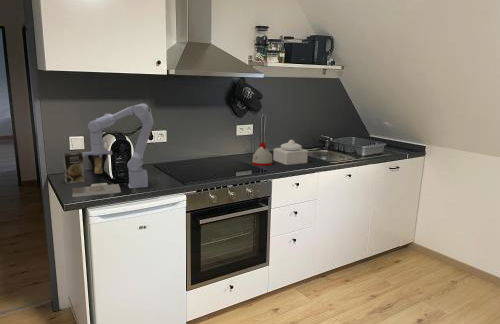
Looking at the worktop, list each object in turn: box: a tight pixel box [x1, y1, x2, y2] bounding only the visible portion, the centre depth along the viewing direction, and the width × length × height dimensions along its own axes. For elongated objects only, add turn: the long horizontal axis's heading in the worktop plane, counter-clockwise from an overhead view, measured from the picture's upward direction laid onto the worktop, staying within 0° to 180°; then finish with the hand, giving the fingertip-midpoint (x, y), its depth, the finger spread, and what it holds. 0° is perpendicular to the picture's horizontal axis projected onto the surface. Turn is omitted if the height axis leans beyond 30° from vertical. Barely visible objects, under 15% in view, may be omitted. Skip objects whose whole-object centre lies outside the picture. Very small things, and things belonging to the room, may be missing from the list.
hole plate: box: [72, 183, 122, 198], centre depth 194 cm, size 22×11×2 cm, turn 114°
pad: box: [90, 182, 109, 186], centre depth 205 cm, size 8×8×1 cm
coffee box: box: [62, 152, 86, 185], centre depth 210 cm, size 9×6×16 cm
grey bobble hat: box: [251, 141, 273, 167], centre depth 265 cm, size 14×14×15 cm
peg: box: [93, 156, 104, 174], centre depth 203 cm, size 4×4×8 cm
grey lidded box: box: [272, 139, 309, 166], centre depth 273 cm, size 18×18×16 cm
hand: (98, 169), depth 203 cm, fingers closed on peg, 4 cm apart
